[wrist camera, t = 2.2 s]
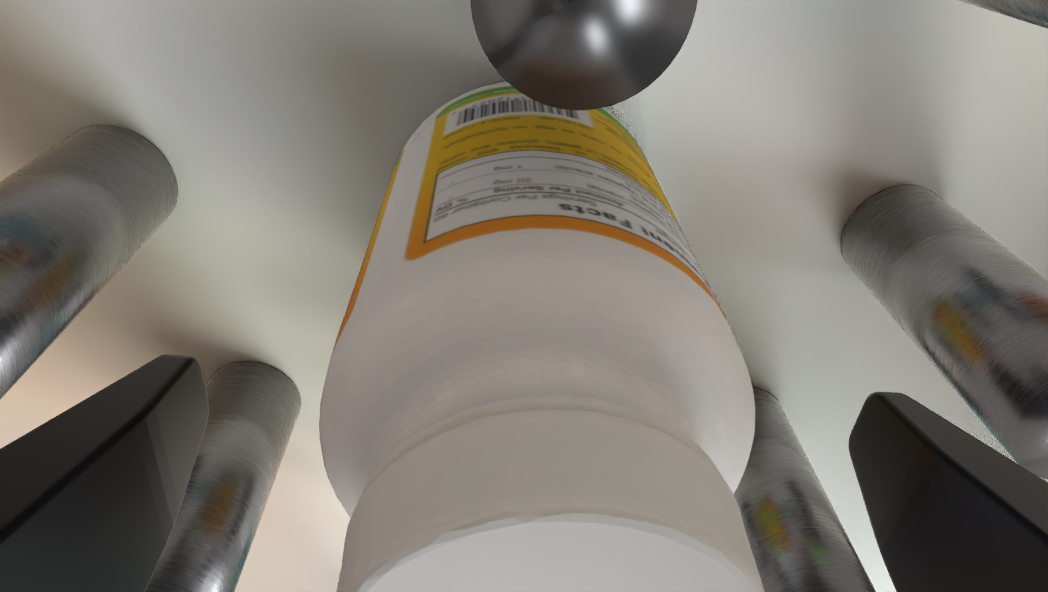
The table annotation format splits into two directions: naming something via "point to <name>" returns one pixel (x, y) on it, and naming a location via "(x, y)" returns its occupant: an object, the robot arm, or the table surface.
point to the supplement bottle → (535, 371)
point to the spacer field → (572, 84)
